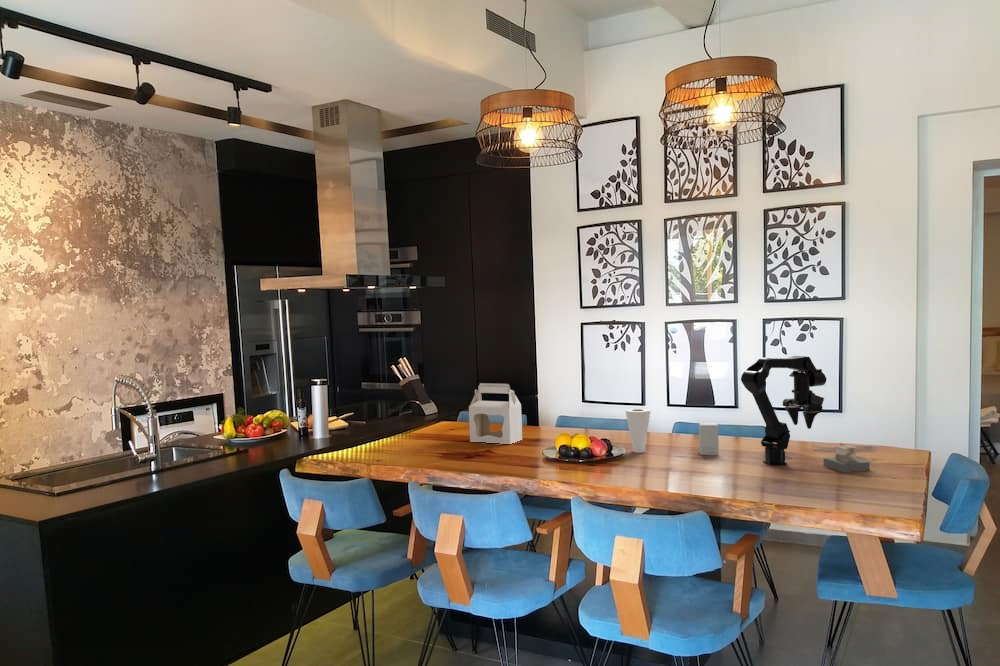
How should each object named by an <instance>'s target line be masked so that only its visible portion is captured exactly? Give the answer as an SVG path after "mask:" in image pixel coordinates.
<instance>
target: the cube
mask: <svg viewBox="0 0 1000 666" xmlns="http://www.w3.org/2000/svg"><path fill="white" fill-rule="evenodd" d="M835 457H836V459H837V460H840V461H843V462H851V461H857V459H858V458H857V447H856V446H851V445H847V444H845V445H835Z"/></svg>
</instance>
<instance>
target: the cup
mask: <svg viewBox="0 0 1000 666" xmlns="http://www.w3.org/2000/svg"><path fill="white" fill-rule="evenodd" d="M625 415H626V419H627V426H628V431H629V435H630V441H631V446H632V451H633V453H636V454H637V453H638V454H641V453H645V452H646V445H647V437H648V430H649V424H650V417H651V409H648V408H639V407H638V408H627V409H625Z"/></svg>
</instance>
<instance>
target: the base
mask: <svg viewBox="0 0 1000 666" xmlns="http://www.w3.org/2000/svg"><path fill="white" fill-rule="evenodd" d="M870 464H871V463H870V461H867V460H864V459H861V458H857V461H851V462H843V461H840V460H837V459H836V456H835V457H834V456H832V457H824V458H823V467H825V466H827V467H826V468H828V467H829V469H831V468H833V469H832V470H834V469H836V470H835V471H837V470H838V471H837V472H840V471H841V472H840V473H850V472H849V471H855V472H862V471H861V470H867V471H870Z"/></svg>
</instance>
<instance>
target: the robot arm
mask: <svg viewBox="0 0 1000 666" xmlns="http://www.w3.org/2000/svg"><path fill="white" fill-rule="evenodd" d="M774 368H775V369H789V370H793V371H792V372H791V373H790V374H789V377H792V378H793V389H791V393H793V398H784V399H783V400H782V407H784V409H785V410H786V412H787V414H788V415H789V417H790V419H791V421H792V424H793V425H794V426H798V422H799V412H800V410H801V409H802V410H803V411H802V415H803V418H804V421H805V422H804V423H805V425H806V429H807V430H808V429H809V430H810V429H812V425H813V423H814V421H815V417H816V416H817V415H818V414H820V413H821V412H823V404H824V400H825V397H824V396H823V397H822V396H819V395H816V393H814V392H813V390H812V389H811V390H810V388H811V387H821V386H822V387H823V386H824V385H826V382H827V376H826V375H825V373H824V372H823V369H822V368H816V366H815V365H814V362H813V361H812V359H811V357H810V356H806V355H805V356H804V355H794V356H789V357H787V358H778V357H777V358H776V357H775V358H772V357H771V358H770V357H760V358H758V359H757V361H755V362H754V363H753V364H751V365H750V366H748V367H747V369H746V370H745V371H744V372H743V373H742V375H741V376H740V382H741V383H742V385H743V386H744V388H745V389H746V390H747V391H748V392H749V393H750V394H751V395H752V396H753V398H754V402H755V403H756V405H757V408H758V410H759V412H760V414H761V416H762V419H763V421H764V423H765V428H764V433H765V435H764V437H763V438H762V440H761V441H760V444H761V446H762V447H764V454H765V455H764V457H765V458H764V459H765V460H763V461H762V462H763V463H764V464H768V465H770V466H779V465H780V464H782V465H787V464H788V463H787V462H786V451H785V450H787V449H788V446H789V442H790V438H791V434H790V432H791V430H790V429H789V427H788V424H787V423H786V422H782V421H780V420H779V419H778V416H777V414H776V411H775V410H774V407H773V404H772V403H771V401H770V398H769V395H768V393H767V391H766V389H767V388H766V386H767V381H766V380H767V378H768V377H769V376H770V371H771V369H774ZM780 466H781V465H780Z"/></svg>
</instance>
